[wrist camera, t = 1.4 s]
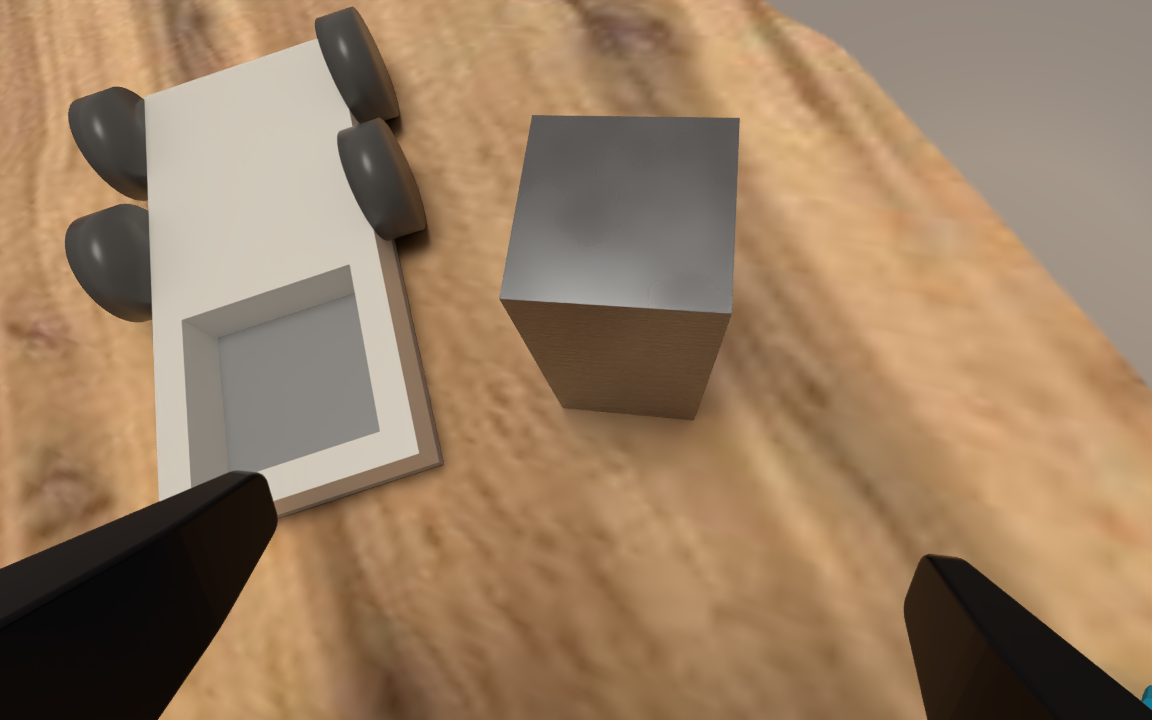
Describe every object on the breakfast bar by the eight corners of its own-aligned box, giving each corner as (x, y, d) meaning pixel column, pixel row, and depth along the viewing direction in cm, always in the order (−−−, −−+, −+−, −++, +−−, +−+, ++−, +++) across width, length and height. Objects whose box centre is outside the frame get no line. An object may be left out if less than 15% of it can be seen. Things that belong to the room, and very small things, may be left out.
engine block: (694, 420, 21) (731, 313, 12) (562, 407, 22) (499, 298, 12) (701, 298, 23) (739, 118, 13) (578, 291, 23) (532, 115, 14)
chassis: (483, 451, 22) (442, 425, 17) (173, 552, 22) (56, 552, 17) (388, 65, 29) (343, -21, 24) (155, 143, 29) (69, 71, 24)
